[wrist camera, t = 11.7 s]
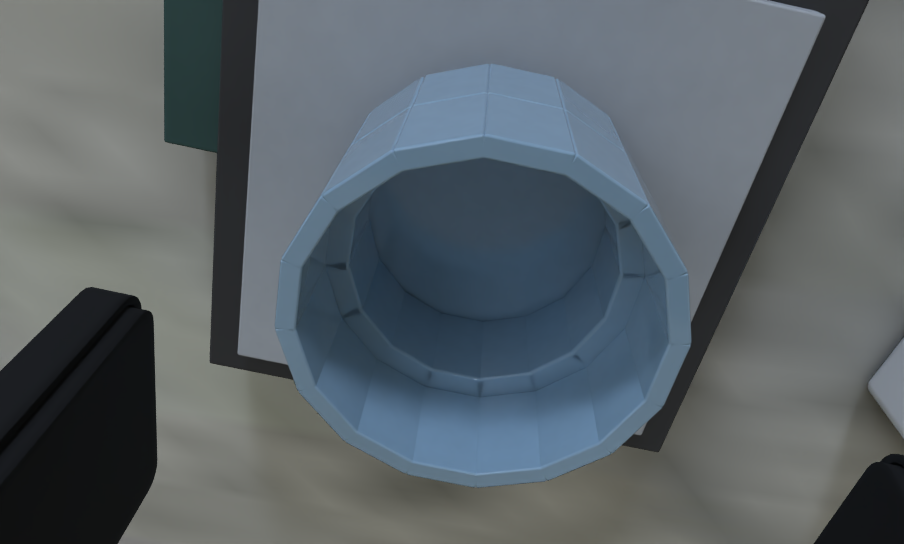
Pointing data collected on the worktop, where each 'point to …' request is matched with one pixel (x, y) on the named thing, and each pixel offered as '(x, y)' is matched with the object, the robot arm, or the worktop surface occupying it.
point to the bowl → (485, 284)
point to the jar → (891, 387)
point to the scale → (516, 46)
